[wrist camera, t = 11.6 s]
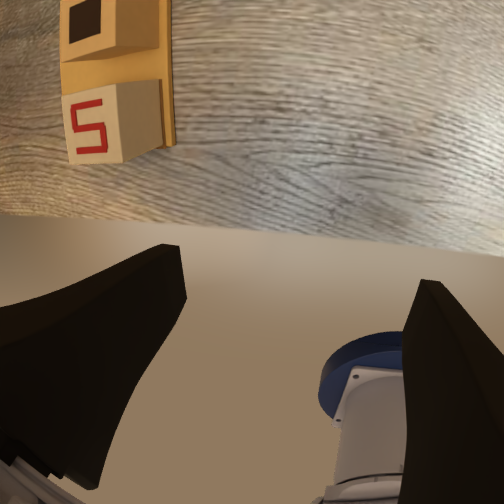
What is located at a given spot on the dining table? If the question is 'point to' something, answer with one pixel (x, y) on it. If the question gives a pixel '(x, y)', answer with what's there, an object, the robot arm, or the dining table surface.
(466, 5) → the dining table surface
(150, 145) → the letter s
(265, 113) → the dining table surface
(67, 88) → the yellow wooden block holder
